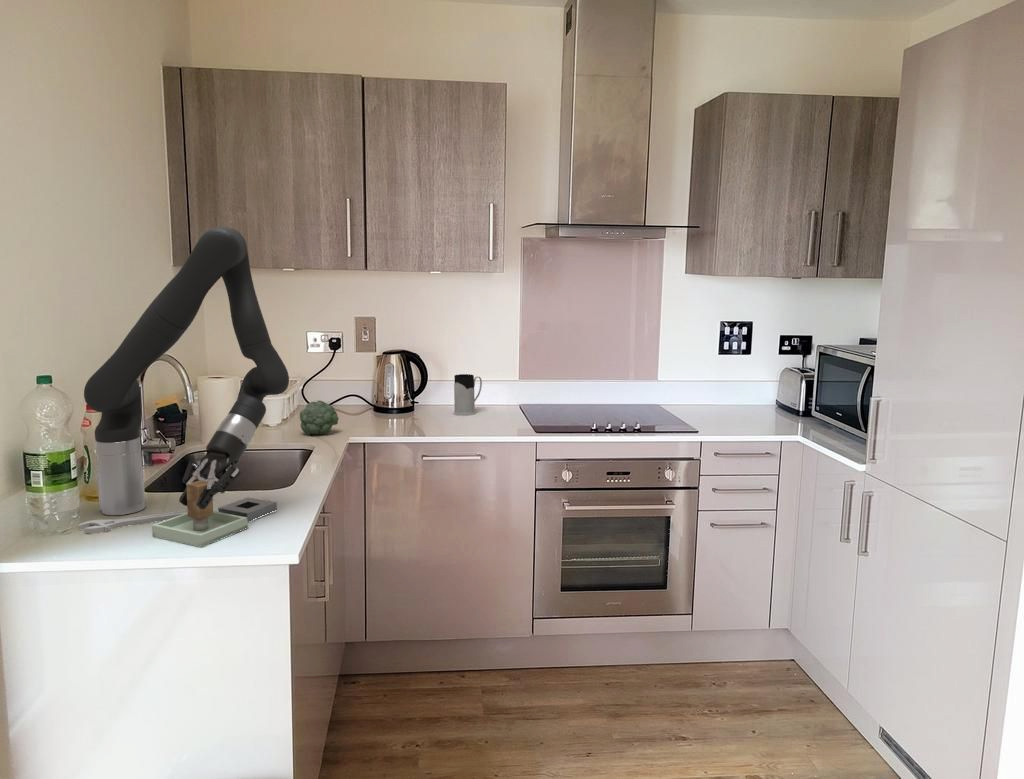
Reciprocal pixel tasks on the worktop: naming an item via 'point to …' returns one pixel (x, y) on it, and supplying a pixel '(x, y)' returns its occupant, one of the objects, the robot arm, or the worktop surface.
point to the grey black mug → (465, 394)
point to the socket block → (249, 508)
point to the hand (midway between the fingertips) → (191, 505)
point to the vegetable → (318, 418)
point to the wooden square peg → (193, 510)
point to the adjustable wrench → (125, 522)
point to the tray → (184, 533)
